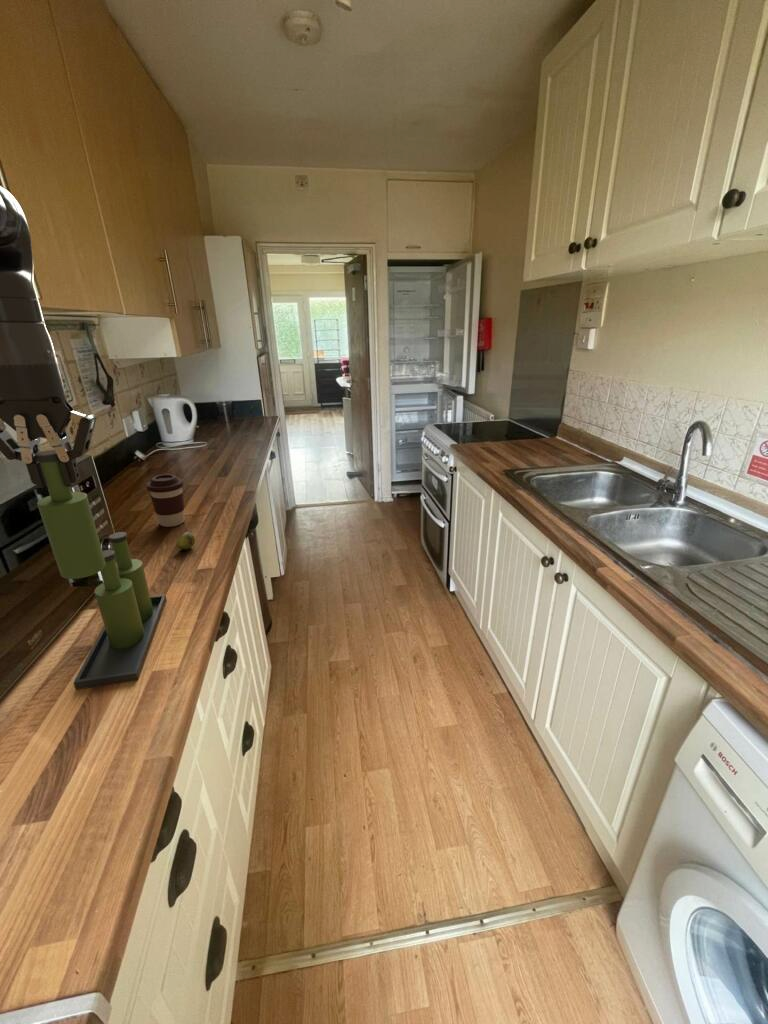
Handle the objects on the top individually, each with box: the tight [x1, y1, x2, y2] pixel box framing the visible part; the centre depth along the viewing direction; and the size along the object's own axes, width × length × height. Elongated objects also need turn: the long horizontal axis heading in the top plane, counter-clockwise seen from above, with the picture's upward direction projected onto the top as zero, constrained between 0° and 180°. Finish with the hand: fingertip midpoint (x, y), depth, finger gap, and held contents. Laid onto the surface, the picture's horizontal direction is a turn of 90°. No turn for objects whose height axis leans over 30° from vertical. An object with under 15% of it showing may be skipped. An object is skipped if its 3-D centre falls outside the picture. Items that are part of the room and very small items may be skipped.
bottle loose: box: [35, 449, 106, 580], centre depth 64 cm, size 6×6×19 cm
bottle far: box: [108, 531, 154, 622], centre depth 87 cm, size 6×6×19 cm
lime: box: [176, 531, 196, 551], centre depth 118 cm, size 4×5×5 cm
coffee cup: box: [146, 473, 186, 528], centre depth 131 cm, size 10×10×15 cm
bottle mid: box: [94, 549, 145, 649], centre depth 80 cm, size 6×6×19 cm
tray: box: [73, 594, 168, 691], centre depth 84 cm, size 24×10×2 cm, turn 14°
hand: (57, 485), depth 62 cm, fingers closed on bottle loose, 3 cm apart
